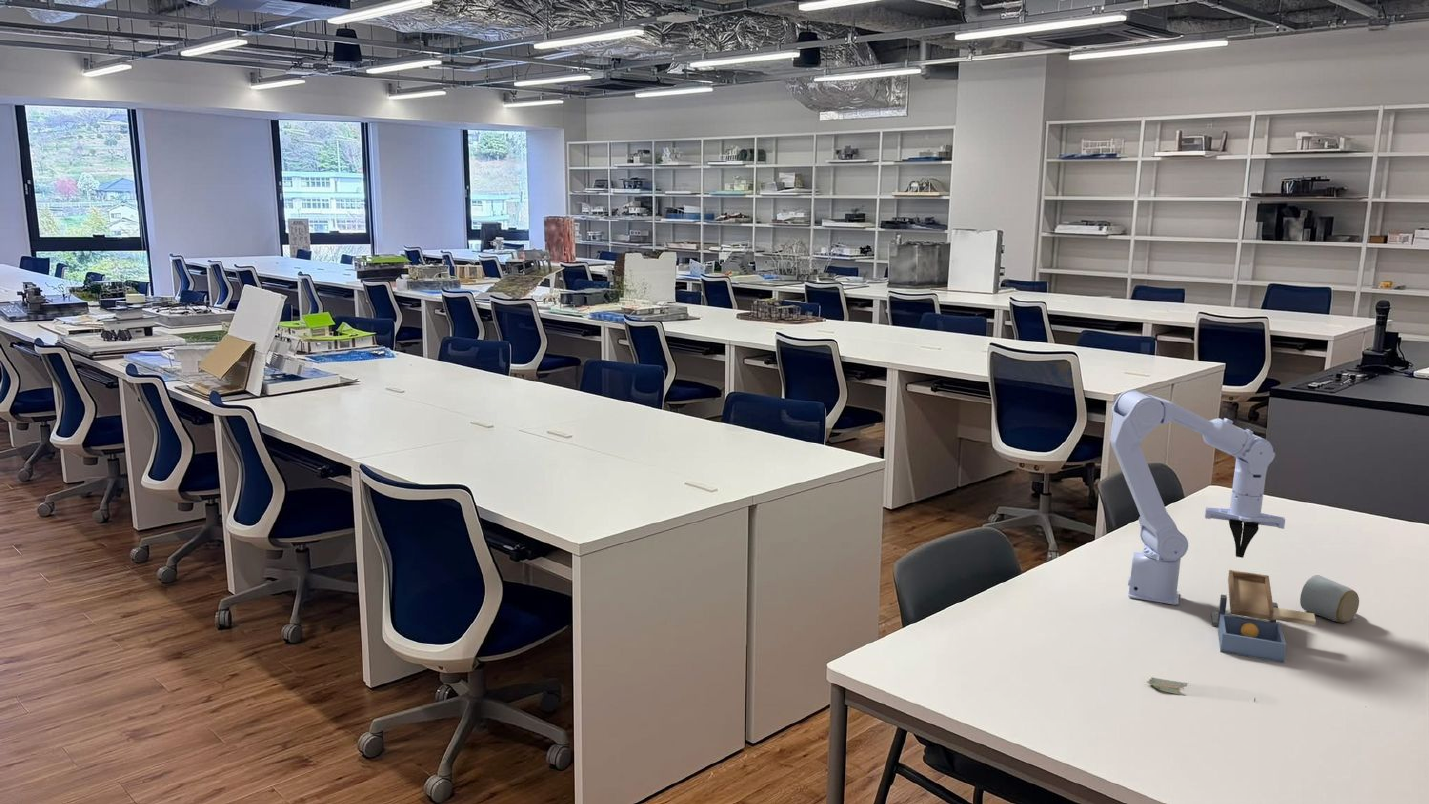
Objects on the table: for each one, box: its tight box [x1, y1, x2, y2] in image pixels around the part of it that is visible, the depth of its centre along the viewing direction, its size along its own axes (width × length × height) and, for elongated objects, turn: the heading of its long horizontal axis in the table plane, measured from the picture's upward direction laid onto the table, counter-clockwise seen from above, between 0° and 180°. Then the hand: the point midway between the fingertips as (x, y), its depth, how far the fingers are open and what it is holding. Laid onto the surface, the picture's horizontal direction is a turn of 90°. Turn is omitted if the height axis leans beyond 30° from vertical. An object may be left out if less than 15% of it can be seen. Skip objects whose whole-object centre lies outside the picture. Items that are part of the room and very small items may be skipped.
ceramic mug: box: [1299, 574, 1360, 624], centre depth 202 cm, size 11×8×8 cm
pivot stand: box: [1210, 593, 1281, 628], centre depth 196 cm, size 12×6×5 cm, turn 66°
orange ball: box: [1241, 623, 1259, 638], centre depth 190 cm, size 3×3×3 cm
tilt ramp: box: [1227, 569, 1316, 627], centre depth 194 cm, size 14×14×5 cm
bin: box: [1217, 614, 1287, 663], centre depth 187 cm, size 10×10×4 cm
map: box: [1146, 677, 1256, 702], centre depth 169 cm, size 5×20×1 cm, turn 79°
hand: (1239, 555), depth 209 cm, fingers closed
